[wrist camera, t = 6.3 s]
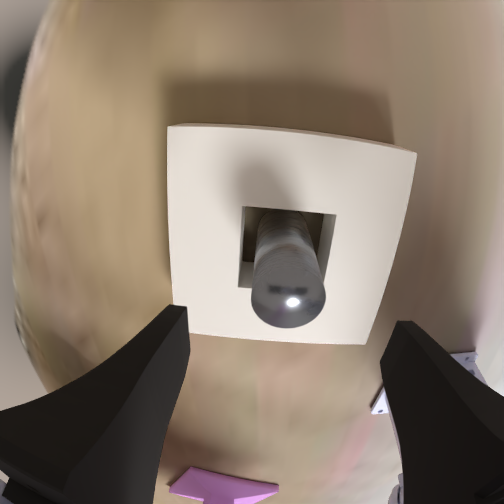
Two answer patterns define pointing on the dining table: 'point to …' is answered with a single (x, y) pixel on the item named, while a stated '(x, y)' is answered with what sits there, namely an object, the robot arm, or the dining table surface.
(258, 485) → the pink table lamp
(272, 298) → the peg
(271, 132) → the socket block
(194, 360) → the dining table surface
